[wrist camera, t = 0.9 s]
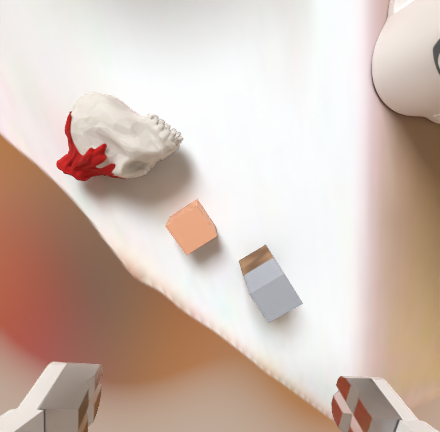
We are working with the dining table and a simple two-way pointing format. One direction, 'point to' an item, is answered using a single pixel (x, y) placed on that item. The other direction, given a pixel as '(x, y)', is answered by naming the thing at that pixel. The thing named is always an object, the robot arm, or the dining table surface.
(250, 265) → the tower base
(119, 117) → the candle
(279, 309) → the block
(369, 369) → the dining table surface
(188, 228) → the terracotta block
